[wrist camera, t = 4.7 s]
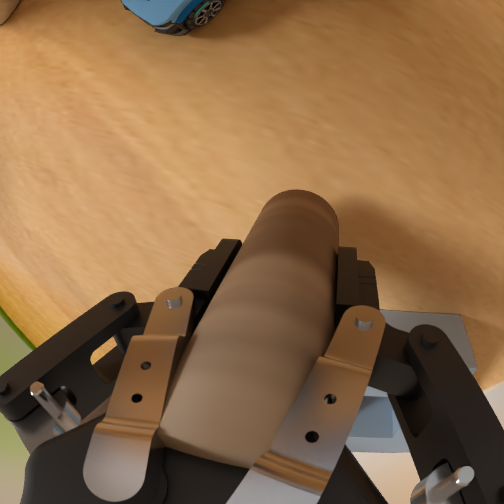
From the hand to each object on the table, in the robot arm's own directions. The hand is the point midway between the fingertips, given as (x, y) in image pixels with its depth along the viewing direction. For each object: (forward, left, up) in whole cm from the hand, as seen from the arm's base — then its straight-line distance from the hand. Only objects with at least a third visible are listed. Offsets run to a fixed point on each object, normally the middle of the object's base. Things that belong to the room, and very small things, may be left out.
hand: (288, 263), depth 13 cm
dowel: (0, 0, -3) cm, 3 cm away
